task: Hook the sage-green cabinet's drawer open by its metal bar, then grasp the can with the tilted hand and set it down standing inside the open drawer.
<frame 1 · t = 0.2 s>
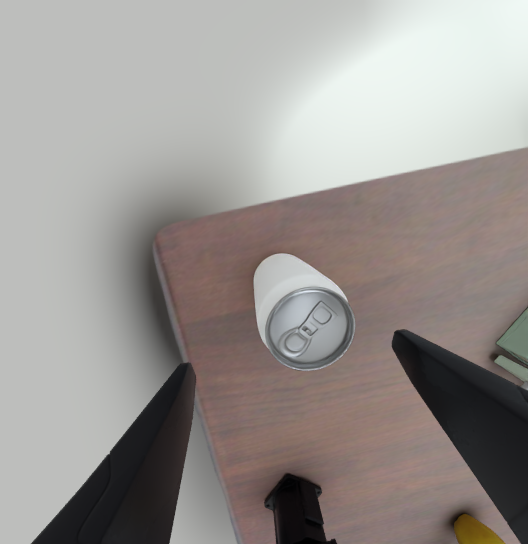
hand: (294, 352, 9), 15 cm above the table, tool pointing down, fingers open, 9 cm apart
can: (280, 279, 25), on the table
apple: (460, 517, 36), on the table
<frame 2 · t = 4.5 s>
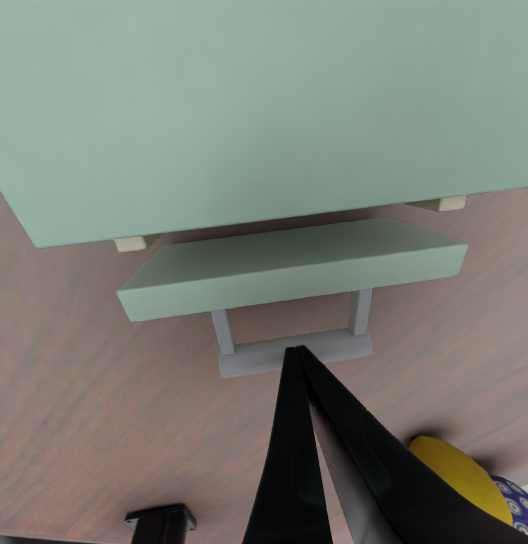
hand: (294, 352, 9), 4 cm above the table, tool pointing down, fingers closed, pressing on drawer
apple: (420, 437, 23), on the table
drawer: (281, 153, 7), point 3 cm above the table, slide at 1.7 cm, touching gripper
teapot: (445, 480, 29), on the table
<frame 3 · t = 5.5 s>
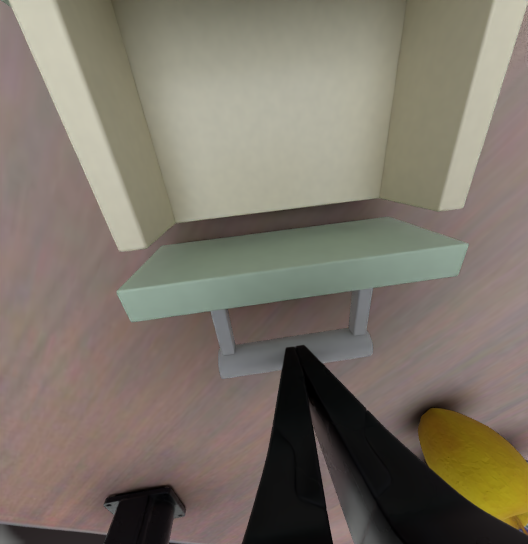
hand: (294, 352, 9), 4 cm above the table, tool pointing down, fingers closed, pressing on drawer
apple: (432, 411, 21), on the table
drawer: (281, 154, 7), point 3 cm above the table, slide at 6.6 cm, touching gripper
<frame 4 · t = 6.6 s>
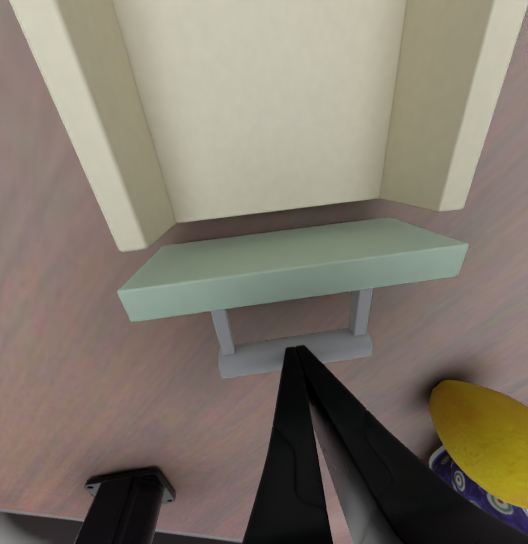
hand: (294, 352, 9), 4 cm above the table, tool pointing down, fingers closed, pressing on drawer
apple: (444, 385, 19), on the table
drawer: (281, 154, 7), point 3 cm above the table, slide at 10.7 cm, touching gripper
teapot: (468, 447, 25), on the table
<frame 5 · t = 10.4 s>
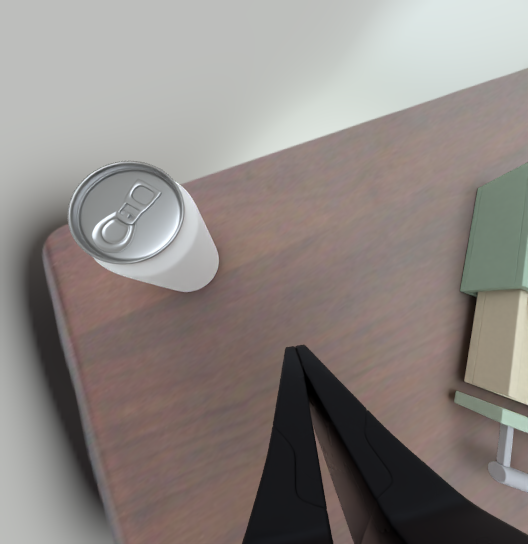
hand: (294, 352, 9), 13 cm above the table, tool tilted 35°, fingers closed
can: (189, 262, 23), on the table
cabinet: (514, 254, 26), on the table
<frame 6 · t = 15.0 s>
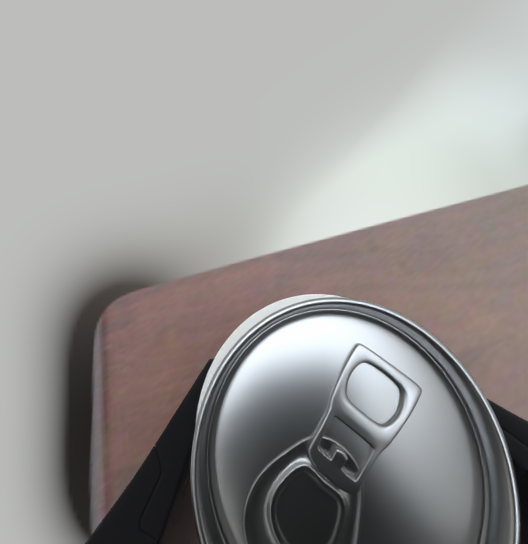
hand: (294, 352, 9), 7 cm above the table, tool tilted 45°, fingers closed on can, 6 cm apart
can: (285, 367, 15), on the table, touching gripper
when the fingers open (8 cm above the table, at t = 26.1 s): can stays where it is, resting on drawer.
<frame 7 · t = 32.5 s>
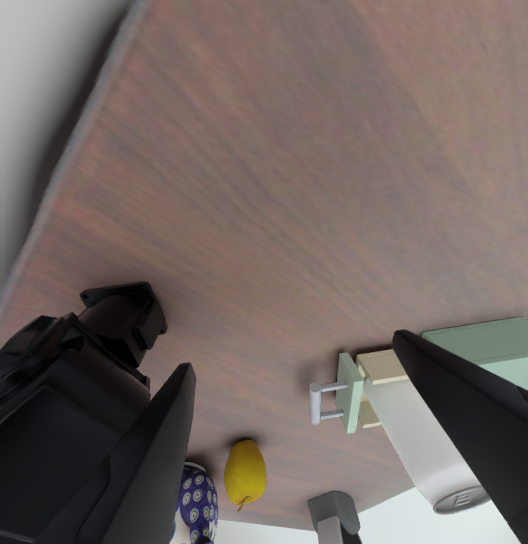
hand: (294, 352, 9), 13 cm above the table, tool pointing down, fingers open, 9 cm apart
can: (383, 378, 30), point 2 cm above the table, touching drawer
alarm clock: (330, 501, 54), on the table
cabinet: (458, 355, 32), on the table
apple: (244, 441, 37), on the table
drawer: (374, 389, 28), point 3 cm above the table, slide at 10.6 cm, touching can
teapot: (179, 472, 39), on the table
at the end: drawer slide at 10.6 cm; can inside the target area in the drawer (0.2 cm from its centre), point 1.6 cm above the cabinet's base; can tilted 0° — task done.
